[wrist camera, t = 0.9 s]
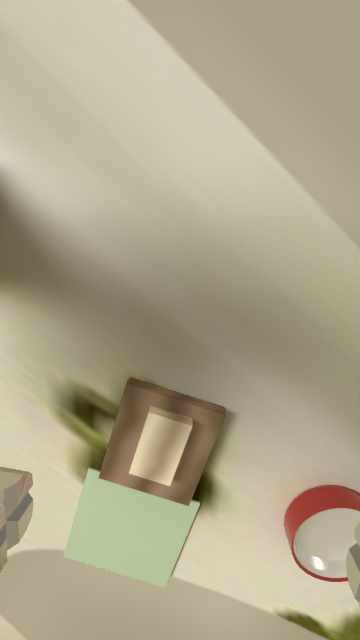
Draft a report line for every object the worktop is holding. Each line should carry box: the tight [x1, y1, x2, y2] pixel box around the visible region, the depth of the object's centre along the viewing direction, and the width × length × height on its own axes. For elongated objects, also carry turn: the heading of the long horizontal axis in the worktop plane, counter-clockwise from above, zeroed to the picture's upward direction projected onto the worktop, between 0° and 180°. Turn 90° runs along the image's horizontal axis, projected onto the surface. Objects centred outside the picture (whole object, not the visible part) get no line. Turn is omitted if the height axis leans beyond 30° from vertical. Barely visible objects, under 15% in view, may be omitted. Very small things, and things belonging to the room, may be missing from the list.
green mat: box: [63, 467, 200, 588], centre depth 49 cm, size 18×18×1 cm
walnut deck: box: [99, 378, 225, 506], centre depth 44 cm, size 14×16×2 cm
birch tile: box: [129, 406, 193, 486], centre depth 42 cm, size 6×10×2 cm, turn 162°
